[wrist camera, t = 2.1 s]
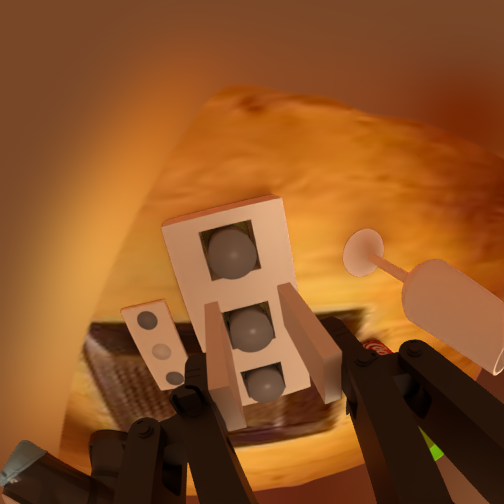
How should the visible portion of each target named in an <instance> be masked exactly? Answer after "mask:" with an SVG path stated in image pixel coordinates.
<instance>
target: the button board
mask: <svg viewBox="0 0 504 504" xmlns="http://www.w3.org/2000/svg"><path fill="white" fill-rule="evenodd" d="M246 220H247V224H248V229H249V234H250V238H251V242H252V243H253V245H254V246H255V249H256V254H257V258H256V263H255V265H254V267H253V269H252V270H251V271H250V272H249V273H248V274H247V275H246V276H244V277H242V278H239V279H234V280H229V279H225V278H222V277H220V276H218V275H217V274H216V273H215V272H214V271H213V270H212V268H211V267H210V264H209V260H208V256H207V253H206V249H205V245H204V241H203V238H202V234H201V232H202V231H205V230H209V229H213V228H217V227H221V226H225V225H229V224H234V223H238V222H242V221H246ZM161 230H162V234H163V237H164V241H165V244H166V247H167V251H168V254H169V257H170V260H171V264H172V267H173V270H174V273H175V276H176V279H177V282H178V285H179V288H180V291H181V294H182V297H183V300H184V303H185V306H186V308H187V311H188V314H189V317H190V320H191V322H192V325H193V328H194V330H195V333H196V336H197V338H198V341H199V343H200V346H201V349H202V351H203V353H205V352H206V340H205V313H204V304H208V303H212V302H216V301H218V304H219V307H220V310H221V314H222V317H223V320H224V324H225V327H226V330H227V333H228V336H229V339H230V344H231V350H232V355H233V361H234V366H235V371H236V377H237V382H238V387H239V392H240V397H241V402H242V406H245V405H249V404H253V403H257V401H255V400H253V399H252V398H251V396H250V392H249V388H248V384H247V380H246V379H244V376H243V373H242V372H243V371H247V370H251V369H255V368H259V367H262V366H266V365H270V364H273V363H278V368H279V373H280V376H281V378H282V381H283V383H284V386H285V389H284V392H283V394H282V395H286V394H289V393H292V392H295V391H298V390H302V389H305V388H308V387H310V378H309V372H308V370H307V368H306V366H305V365H304V363H303V361H302V359H301V357H300V355H299V353H298V351H297V349H296V347H295V345H294V343H293V342H292V340H291V338H290V336H289V334H288V332H287V330H286V328H285V326H284V322H283V317H282V311H281V306H280V300H279V295H278V290H277V285H281V284H284V283H288V282H290V283H291V284H292V286H293V287H294V288H295V290H296V291H297V292H298V289H297V282H296V276H295V270H294V263H293V257H292V251H291V245H290V239H289V234H288V228H287V222H286V217H285V211H284V206H283V200H282V197H279V196H276V195H273V194H270V195H266V196H261V197H257V198H252V199H248V200H244V201H239V202H235V203H231V204H227V205H223V206H219V207H214V208H210V209H206V210H202V211H199V212H195V213H191V214H187V215H183V216H179V217H176V218H172V219H168V220H166V221H165V222H164V224H163V225H162V226H161ZM261 302H264V303H265V307H266V312H267V317H268V320H269V322H270V324H271V327H272V329H273V338H272V341H271V342H270V344H269V345H268V346H267V347H266V348H264V349H262V350H260V351H258V352H252V353H248V352H243V351H241V350H239V349H237V348H236V347H235V345H234V344H233V341H232V337H231V331H229V329H228V326H227V322H226V319H225V316H224V312H227V311H231V310H234V309H238V308H242V307H246V306H250V305H254V304H257V303H261ZM282 395H281V396H282Z"/></svg>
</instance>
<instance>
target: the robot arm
mask: <svg viewBox="0 0 504 504" xmlns="http://www.w3.org/2000/svg"><path fill="white" fill-rule="evenodd" d="M277 290H278V295H279V300H280V306H281V311H282V317H283V322H284V326H285V328H286V330H287V332H288V334H289V336H290V338H291V340H292V342H293V343H294V345H295V347H296V349H297V351H298V353H299V355H300V357H301V359H302V361H303V363H304V365H305V366H306V368H307V370H308V372H309V374H310V376H311V378H312V380H313V382H314V384H315V385H316V387H317V389H318V391H319V393H320V395H321V397H322V399H323V401H324V403H325V404H327V403H330V402H332V401H335V400H337V399H340V398H342V390H343V392H344V394H345V395H346V397H347V401H346V415H348V414H349V413H350V416H351V419H352V422H353V425H354V428H355V431H356V434H357V438H358V441H359V444H360V447H361V450H362V454H363V457H364V460H365V463H366V467H367V470H368V473H369V477H370V480H371V484H372V487H373V491H374V494H375V497H376V501H377V504H455V503H454V502H453V501H452V499H451V497H450V495H449V492H448V490H447V487H446V485H445V483H444V480H443V478H442V476H441V473H440V471H439V469H438V467H437V464H436V462H435V460H434V458H433V456H432V454H431V451H430V449H429V447H428V445H427V443H426V441H425V439H424V437H423V435H422V433H421V431H420V429H419V427H420V428H421V429H422V430H423V431H424V433H425V434H426V435H427V436H428V437H429V438H430V439H431V440H432V441H433V442H434V443H435V445H436V446H437V447H438V448H439V449H440V450H441V451H442V452H443V453H444V454H445V455H446V457H447V458H448V459H449V460H450V461H451V462H452V463H453V464H454V465H455V466H456V467H457V469H458V470H459V471H460V472H461V473H462V474H463V475H464V476H465V477H466V478H467V480H469V482H470V483H471V484H472V485H473V486H474V487H475V488H476V489H477V490H478V492H479V493H480V494H481V495H482V496H483V497H484V498H485V499H486V500H487V501H488V502H489V503H490V504H504V404H503V403H502V402H500V401H499V400H498V399H497V398H495V397H494V396H493V395H492V394H490V393H489V392H488V391H487V390H486V389H484V388H483V387H482V386H481V385H479V384H478V383H477V382H476V381H474V380H473V379H472V378H471V377H469V376H468V375H467V374H466V373H464V372H463V371H462V370H461V369H459V368H458V367H457V366H455V365H454V364H453V363H452V362H450V361H449V360H448V359H446V358H445V357H444V356H443V355H441V354H440V353H439V352H437V351H436V350H435V349H433V348H432V347H431V346H429V345H428V344H427V343H425V342H423V341H421V340H416V339H415V340H408V341H406V342H404V343H403V344H402V345H401V346H400V348H399V352H396V353H390V354H384V355H379V354H378V353H377V352H376V351H374V350H372V349H365V348H364V346H363V345H362V344H361V343H360V342H359V341H358V340H357V338H356V337H355V336H354V335H353V334H352V333H351V332H350V330H349V329H348V328H347V327H346V326H345V325H344V323H343V322H342V321H341V320H339V319H337V318H335V317H333V316H331V317H328V318H325V319H322V320H318V319H317V317H316V316H315V315H314V313H313V312H312V311H311V309H310V308H309V307H308V305H307V304H306V303H305V301H304V300H303V299H302V297H301V296H300V295H299V293H298V292H297V291H296V290H295V288H294V287H293V286H292V284H291V283H290V282H288V283H284V284H281V285H277ZM204 313H205V340H206V352H205V353H200V354H196V355H191V356H189V357H188V359H187V361H186V363H185V374H184V378H185V379H184V384H182V385H180V386H178V387H176V388H175V389H174V390H173V391H172V393H171V394H170V397H169V401H170V403H171V404H172V406H173V408H174V409H175V411H176V412H177V414H176V415H174V416H173V417H171V418H168V419H166V420H163V421H161V422H158V421H157V420H155V419H154V418H149V417H146V418H141V419H139V420H137V421H136V422H135V423H133V424H132V426H131V428H130V430H129V433H128V434H127V433H123V432H118V431H111V430H102V431H97V432H95V433H93V434H92V435H91V438H90V441H89V454H90V461H91V467H92V472H91V476H89V475H87V474H85V473H83V472H81V471H79V470H77V469H75V468H73V467H71V466H70V465H68V464H66V463H64V462H63V461H61V460H59V459H57V458H56V457H54V456H53V455H51V454H50V453H48V451H46V450H43V449H41V448H40V447H38V446H36V445H35V444H33V443H31V442H30V441H27V440H23V441H21V442H20V443H19V444H18V445H17V446H16V448H15V449H14V451H13V452H12V454H11V455H10V457H9V459H8V460H7V462H6V464H5V465H4V467H3V469H2V471H1V473H0V486H2V487H4V490H3V493H2V497H3V499H4V501H5V503H6V504H186V483H187V463H189V466H190V470H191V474H192V478H193V481H194V485H195V488H196V492H197V495H198V498H199V502H200V504H258V502H257V500H256V498H255V495H254V493H253V491H252V489H251V487H250V485H249V483H248V480H247V478H246V476H245V474H244V471H243V469H242V467H241V464H240V462H239V460H238V457H237V455H236V453H235V450H234V448H233V445H232V443H231V440H230V438H229V437H228V435H227V429H228V431H232V430H237V429H242V428H246V427H247V426H246V421H245V416H244V411H243V407H242V402H241V397H240V392H239V387H238V382H237V377H236V371H235V366H234V361H233V355H232V350H231V344H230V339H229V336H228V333H227V330H226V327H225V324H224V320H223V317H222V314H221V310H220V307H219V304H218V301H216V302H212V303H208V304H204ZM418 426H419V427H418ZM226 427H227V429H226Z"/></svg>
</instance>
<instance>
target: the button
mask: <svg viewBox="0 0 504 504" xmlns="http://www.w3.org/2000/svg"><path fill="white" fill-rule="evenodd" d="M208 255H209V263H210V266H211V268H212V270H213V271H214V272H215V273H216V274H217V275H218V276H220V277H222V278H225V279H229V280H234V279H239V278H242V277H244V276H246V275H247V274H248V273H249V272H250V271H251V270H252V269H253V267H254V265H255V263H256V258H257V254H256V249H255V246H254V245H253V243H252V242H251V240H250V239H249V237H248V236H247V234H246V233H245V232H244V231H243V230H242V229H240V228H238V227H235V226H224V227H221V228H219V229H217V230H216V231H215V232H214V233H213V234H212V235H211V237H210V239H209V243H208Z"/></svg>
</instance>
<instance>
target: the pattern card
mask: <svg viewBox="0 0 504 504" xmlns="http://www.w3.org/2000/svg"><path fill="white" fill-rule="evenodd" d="M121 314H122V316H123V318H124V320H125V322H126V325H127V327H128V329H129V331H130V333H131V335H132V337H133V339H134V341H135V343H136V345H137V347H138V349H139V351H140V353H141V355H142V357H143V359H144V361H145V363H146V365H147V367H148V368H149V370H150V372H151V374H152V376H153V377H154V379H155V381H156V383H157V384H158V386H159V388H160V389H161V390H168V389H174V388H176V387H178V386H180V385H182V384H184V379H185V378H184V374H185V363H186V361H187V359H188V355H187V353H186V351H185V348H184V346H183V344H182V341H181V339H180V336H179V334H178V331H177V329H176V326H175V324H174V321H173V319H172V316H171V314H170V311H169V309H168V306H167V303H166V301H165V299H162V300H158V301H154V302H149V303H145V304H141V305H136V306H132V307H128V308H123V309H121Z"/></svg>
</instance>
